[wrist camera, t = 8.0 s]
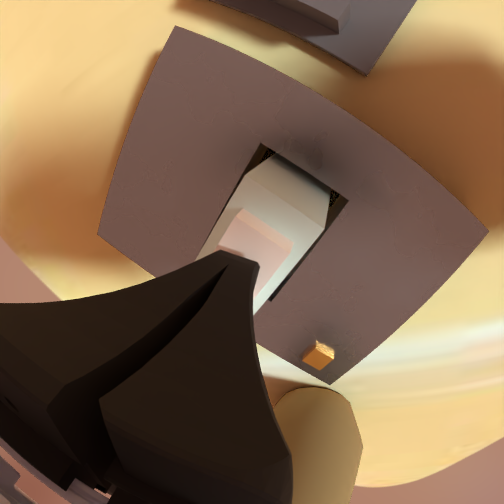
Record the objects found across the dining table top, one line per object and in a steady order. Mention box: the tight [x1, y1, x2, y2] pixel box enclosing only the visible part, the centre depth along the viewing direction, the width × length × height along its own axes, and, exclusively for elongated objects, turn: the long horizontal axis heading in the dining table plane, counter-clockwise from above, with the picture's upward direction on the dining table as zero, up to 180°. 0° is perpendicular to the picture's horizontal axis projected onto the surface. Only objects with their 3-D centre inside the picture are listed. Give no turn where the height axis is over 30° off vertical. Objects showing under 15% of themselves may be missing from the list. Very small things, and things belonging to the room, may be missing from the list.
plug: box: [195, 152, 331, 315], centre depth 13 cm, size 3×5×7 cm, turn 149°
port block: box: [97, 25, 489, 385], centre depth 15 cm, size 16×12×3 cm
